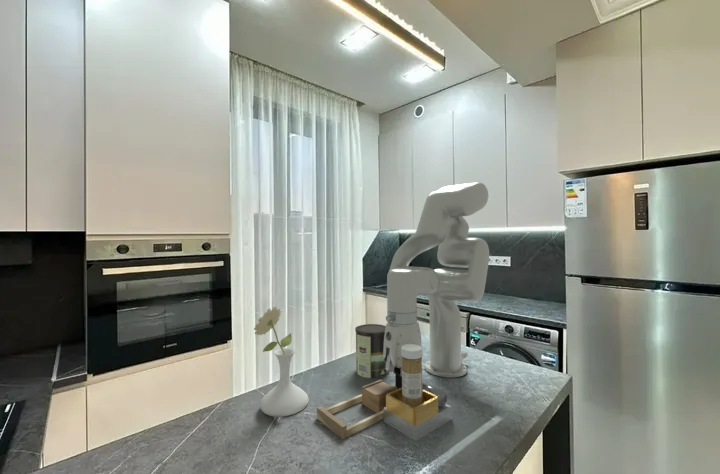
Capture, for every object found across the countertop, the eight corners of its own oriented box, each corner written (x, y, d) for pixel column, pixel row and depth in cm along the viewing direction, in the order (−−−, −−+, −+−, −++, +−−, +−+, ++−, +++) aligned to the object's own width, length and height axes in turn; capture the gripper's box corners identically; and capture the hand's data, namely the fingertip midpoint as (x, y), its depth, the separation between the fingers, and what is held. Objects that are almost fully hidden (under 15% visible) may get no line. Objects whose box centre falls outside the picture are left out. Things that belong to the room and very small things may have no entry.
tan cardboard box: (380, 396, 79) (380, 379, 79) (397, 405, 75) (397, 387, 75) (361, 404, 75) (361, 386, 75) (378, 414, 71) (378, 395, 71)
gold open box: (419, 407, 76) (419, 377, 76) (451, 424, 69) (451, 391, 69) (383, 426, 68) (383, 393, 68) (415, 447, 61) (415, 410, 61)
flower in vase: (292, 392, 84) (292, 299, 84) (318, 409, 75) (317, 304, 76) (244, 411, 75) (245, 306, 75) (268, 432, 66) (268, 313, 67)
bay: (378, 397, 81) (378, 383, 81) (406, 412, 74) (405, 397, 74) (316, 423, 69) (316, 407, 69) (342, 445, 62) (342, 427, 62)
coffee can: (391, 369, 99) (390, 324, 99) (387, 383, 89) (387, 333, 89) (359, 366, 101) (359, 322, 101) (352, 380, 91) (351, 331, 91)
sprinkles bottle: (423, 405, 69) (422, 344, 69) (422, 416, 65) (421, 351, 65) (402, 402, 70) (402, 342, 71) (400, 413, 66) (399, 349, 66)
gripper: (391, 325, 73) (392, 405, 72) (432, 315, 82) (432, 386, 82) (370, 319, 78) (370, 393, 78) (410, 311, 88) (410, 377, 88)
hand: (402, 389), depth 80 cm, fingers closed
